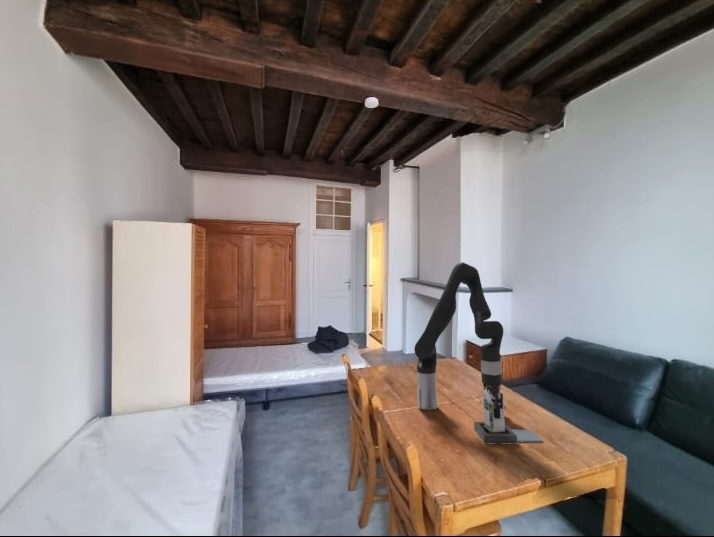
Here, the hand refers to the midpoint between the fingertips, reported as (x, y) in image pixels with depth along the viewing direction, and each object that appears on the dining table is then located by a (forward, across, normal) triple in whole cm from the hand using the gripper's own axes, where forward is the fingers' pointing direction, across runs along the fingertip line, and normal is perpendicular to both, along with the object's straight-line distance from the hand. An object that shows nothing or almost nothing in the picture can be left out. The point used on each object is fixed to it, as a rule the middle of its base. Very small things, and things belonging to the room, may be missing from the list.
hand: (493, 414), depth 121 cm
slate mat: (+8, 0, +11) cm, 14 cm away
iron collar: (+8, 0, 0) cm, 8 cm away
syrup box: (+6, 0, 0) cm, 6 cm away
